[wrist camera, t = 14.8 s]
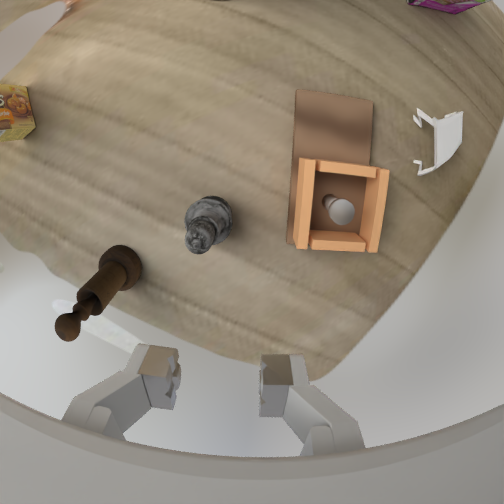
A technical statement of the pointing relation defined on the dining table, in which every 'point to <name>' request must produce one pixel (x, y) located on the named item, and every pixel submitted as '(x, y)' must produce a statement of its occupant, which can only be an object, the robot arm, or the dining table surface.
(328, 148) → the peg board
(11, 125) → the candy box
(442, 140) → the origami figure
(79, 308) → the mortar and pestle
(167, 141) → the dining table surface
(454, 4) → the candy bar box
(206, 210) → the grey chess piece
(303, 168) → the square wooden frame
